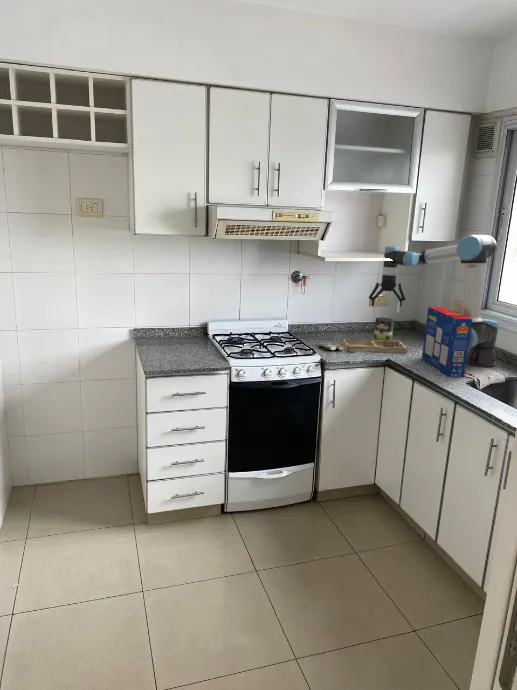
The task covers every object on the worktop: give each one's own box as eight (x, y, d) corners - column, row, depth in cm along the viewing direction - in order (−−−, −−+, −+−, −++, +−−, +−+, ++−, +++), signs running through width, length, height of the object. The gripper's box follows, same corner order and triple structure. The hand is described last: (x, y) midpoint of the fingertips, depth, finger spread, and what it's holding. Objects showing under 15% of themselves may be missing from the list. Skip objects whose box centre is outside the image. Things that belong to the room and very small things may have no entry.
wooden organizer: (406, 354, 277) (407, 348, 276) (347, 352, 276) (347, 346, 275) (398, 346, 292) (399, 340, 291) (342, 344, 292) (342, 338, 291)
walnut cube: (393, 350, 282) (394, 342, 281) (385, 349, 282) (386, 341, 281) (391, 347, 286) (392, 339, 285) (383, 347, 286) (384, 339, 285)
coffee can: (388, 346, 292) (391, 322, 288) (371, 343, 297) (373, 319, 293) (393, 342, 301) (396, 319, 297) (375, 339, 306) (378, 316, 302)
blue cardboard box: (463, 377, 243) (472, 319, 236) (447, 377, 242) (456, 318, 235) (436, 359, 270) (443, 307, 263) (421, 359, 269) (428, 306, 261)
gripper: (409, 274, 292) (405, 311, 297) (365, 273, 292) (362, 310, 297) (413, 276, 285) (409, 314, 290) (368, 274, 285) (365, 312, 290)
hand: (385, 312), depth 294 cm, fingers open, 13 cm apart
